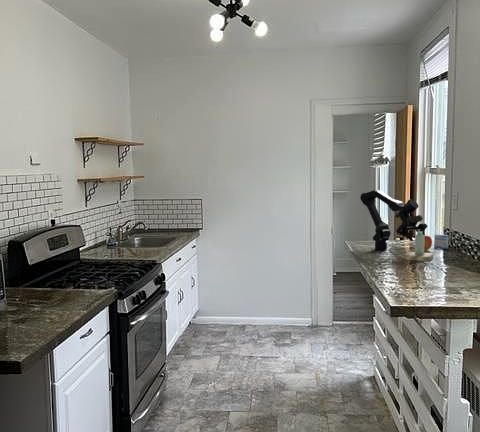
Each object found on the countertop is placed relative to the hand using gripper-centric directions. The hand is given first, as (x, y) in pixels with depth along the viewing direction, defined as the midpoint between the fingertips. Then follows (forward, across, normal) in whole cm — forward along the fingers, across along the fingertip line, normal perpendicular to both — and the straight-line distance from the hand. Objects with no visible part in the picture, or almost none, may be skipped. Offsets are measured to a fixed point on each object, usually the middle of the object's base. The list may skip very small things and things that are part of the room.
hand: (418, 240), depth 270 cm
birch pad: (+8, 0, +7) cm, 10 cm away
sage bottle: (+6, 0, +5) cm, 8 cm away
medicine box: (-7, +38, +22) cm, 44 cm away
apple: (-4, +20, +20) cm, 29 cm away
